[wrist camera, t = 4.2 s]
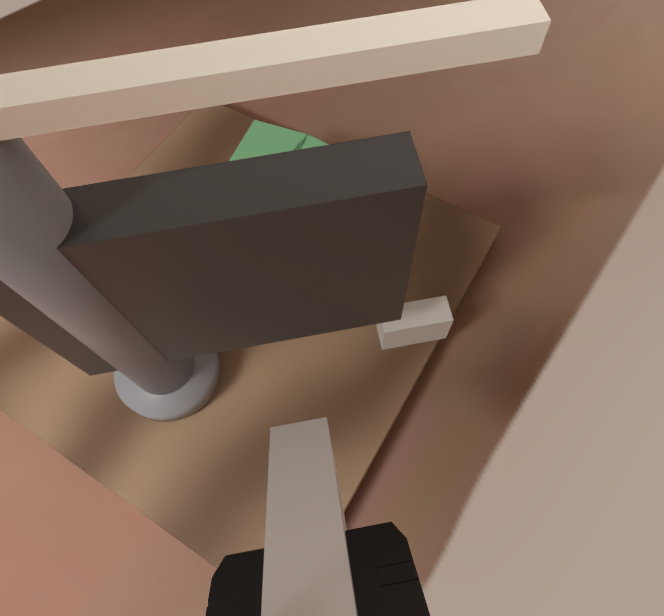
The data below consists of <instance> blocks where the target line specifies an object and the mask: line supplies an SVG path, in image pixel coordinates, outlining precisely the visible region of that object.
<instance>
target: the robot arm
mask: <svg viewBox="0 0 664 616" xmlns="http://www.w3.org/2000/svg"><path fill="white" fill-rule="evenodd" d="M206 616H430V614H429V611H428V607H427V604H426V601H425V597H424V594H423V591H422V587H421V584H420V582H419V578H418V574H417V571H416V568H415V564H414V562H413V558H412V555H411V551H410V548H409V545H408V542H407V538H406V537H405V536H404V535H403V534H402V533H401V532H400V531H399V530H398V529H397V527H396V526H395V525H394V524H393V523H392V522H387V523H382V524H377V525H372V526H367V527H361V528H356V529H351V530H347V529H346V522H345V516H344V510H343V503H342V498H341V492H340V487H339V481H338V476H337V471H336V465H335V460H334V454H333V449H332V443H331V438H330V433H329V427H328V422H327V417H324V418H319V419H314V420H308V421H303V422H297V423H292V424H287V425H281V426H276V427H270V445H269V465H268V486H267V506H266V526H265V546H264V548H261V549H256V550H251V551H246V552H241V553H235V554H230V555H225V557H224V558H223V560H222V562H221V563H220V565H219V567H218V568H217V570H216V572H215V573H214V575H213V577H212V580H211V586H210V592H209V598H208V607H207V610H206Z"/></svg>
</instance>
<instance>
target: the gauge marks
mask: <svg viewBox="0 0 664 616" xmlns="http://www.w3.org/2000/svg"><path fill="white" fill-rule="evenodd" d="M323 145H329V144H327V143H325V142H323V141H321V140H319V139H317V138H315V137H313V136H311V135H309V134H305V133H301V132H298V131H294V130H290V129H287V128H283V127H279V126H276V125H272V124H268V123H265V122H261V121H257V120H254V121H253V123H252V124H251V126H250V127H249V129H248V131H247V132H246V134H245V136H244V137H243V139H242V140H241V142H240V144H239V145H238V147H237V149H236V150H235V152H234V153H233V155H232V157H231V158H230V160H229V161H233V160H239V159H245V158H251V157H257V156H263V155H269V154H275V153H281V152H287V151H293V150H299V149H305V148H311V147H317V146H323ZM453 321H454V320H453V317H452V313H451V310H450V307H449V304H448V301H447V297H446V296H440V297H435V298H429V299H423V300H418V301H412V302H407V303H404V307H403V312H402V317H401V320H395V321H390V322H384V323H379V324H377V325H376V327H377V331H378V335H379V339H380V343H381V348H382V350H384V349H389V348H395V347H400V346H406V345H411V344H417V343H422V342H428V341H433V340H439V339H444V338H446V337H447V335H448V332H449V330H450V328H451V325H452V323H453Z"/></svg>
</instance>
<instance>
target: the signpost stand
mask: <svg viewBox="0 0 664 616" xmlns="http://www.w3.org/2000/svg"><path fill="white" fill-rule="evenodd" d="M550 22H551V19H550V18H549V16H548V14H547V12H546V11H545V9H544V7H543V5H542V4H541V2H540V0H473V1H467V2H460V3H454V4H447V5H441V6H435V7H428V8H422V9H415V10H409V11H403V12H396V13H390V14H383V15H377V16H371V17H364V18H358V19H351V20H345V21H339V22H332V23H326V24H319V25H313V26H307V27H300V28H294V29H288V30H281V31H275V32H268V33H262V34H256V35H249V36H243V37H236V38H230V39H224V40H217V41H211V42H204V43H198V44H192V45H185V46H179V47H172V48H166V49H160V50H153V51H147V52H140V53H134V54H128V55H121V56H115V57H108V58H102V59H96V60H89V61H83V62H76V63H70V64H64V65H57V66H51V67H44V68H38V69H32V70H25V71H19V72H12V73H6V74H0V316H1V317H3V318H4V319H6V320H7V321H9V322H10V323H12V324H13V325H15V326H16V327H18V328H19V329H21V330H22V331H24V332H25V333H27V334H28V335H30V336H31V337H33V338H34V339H36V340H37V341H39V342H40V343H42V344H43V345H45V346H46V347H48V348H49V349H51V350H52V351H54V352H55V353H57V354H58V355H60V356H61V357H63V358H64V359H66V360H67V361H69V362H70V363H72V364H73V365H75V366H76V367H78V368H79V369H81V370H82V371H84V372H85V373H87V374H88V375H90V376H92V375H97V374H103V373H108V372H114V384H115V388H116V391H117V394H118V395H119V397H120V399H121V400H122V401H123V403H124V404H125V405H127V406H128V407H129V408H130V409H132V410H133V411H135V412H136V413H138V414H139V415H141V416H143V417H145V418H147V419H149V420H153V421H158V422H172V421H177V420H181V419H184V418H186V417H188V416H190V415H192V414H194V413H195V412H197V411H198V410H200V409H201V408H202V407H203V406H204V405H205V404H206V403H207V402H208V401H209V399H210V398H211V397H212V395H213V394H214V392H215V390H216V388H217V385H218V383H219V379H220V373H221V363H220V358H219V354H218V353H219V352H224V351H230V350H235V349H241V348H246V347H252V346H257V345H263V344H268V343H274V342H279V341H285V340H290V339H296V338H302V337H307V336H313V335H318V334H324V333H329V332H335V331H340V330H346V329H351V328H357V327H362V326H368V325H373V324H379V323H384V322H390V321H395V320H401V317H402V312H403V307H404V302H405V296H406V291H407V286H408V281H409V276H410V271H411V266H412V261H413V256H414V251H415V246H416V240H417V235H418V230H419V225H420V220H421V215H422V210H423V205H424V200H425V195H426V190H427V182H426V179H425V176H424V173H423V170H422V167H421V164H420V161H419V158H418V155H417V152H416V149H415V146H414V143H413V140H412V137H411V134H410V131H408V132H402V133H396V134H390V135H384V136H378V137H372V138H366V139H360V140H354V141H348V142H342V143H336V144H329V145H323V146H317V147H311V148H305V149H299V150H293V151H287V152H281V153H275V154H269V155H263V156H257V157H251V158H245V159H239V160H233V161H227V162H221V163H215V164H209V165H203V166H197V167H191V168H185V169H179V170H173V171H167V172H161V173H155V174H149V175H143V176H137V177H131V178H125V179H119V180H113V181H107V182H101V183H95V184H89V185H83V186H76V187H70V188H64V189H62V188H61V187H60V186H59V185H58V183H57V182H56V181H55V180H54V178H53V177H52V176H51V175H50V174H49V172H48V171H47V170H46V169H45V167H44V166H43V165H42V164H41V162H40V161H39V160H38V159H37V157H36V156H35V155H34V154H33V152H32V151H31V150H30V149H29V148H28V146H27V145H26V144H25V143H24V141H23V140H22V139H21V137H27V136H33V135H39V134H45V133H52V132H58V131H64V130H70V129H76V128H83V127H89V126H95V125H101V124H107V123H114V122H120V121H126V120H132V119H138V118H145V117H151V116H157V115H163V114H169V113H175V112H182V111H188V110H194V109H200V108H206V107H213V106H219V105H225V104H231V103H237V102H244V101H250V100H256V99H262V98H268V97H275V96H281V95H287V94H293V93H299V92H306V91H312V90H318V89H324V88H330V87H337V86H343V85H349V84H355V83H361V82H367V81H374V80H380V79H386V78H392V77H398V76H405V75H411V74H417V73H423V72H429V71H436V70H442V69H448V68H454V67H460V66H467V65H473V64H479V63H485V62H491V61H498V60H504V59H510V58H516V57H522V56H528V55H535V54H539V52H540V50H541V47H542V44H543V41H544V39H545V36H546V33H547V31H548V28H549V25H550Z"/></svg>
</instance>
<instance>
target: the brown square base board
mask: <svg viewBox="0 0 664 616" xmlns="http://www.w3.org/2000/svg"><path fill="white" fill-rule="evenodd" d="M254 120H256V119H254V118H252V117H249V116H247V115H245V114H242V113H240V112H238V111H235V110H233V109H231V108H229V107H226V106H224V105H219V106H213V107H206V108H200V109H194V110H193V111H192V112H191V113H190V114H189V115H188V116H187V117H186V118H185V119H184V120H183V121H182V122H181V123H180V125H179V126H178V127H177V128H176V129H175V130H174V131H173V132H172V133H171V134H170V135H169V136H168V137H167V138H166V139H165V140H164V141H163V142H162V143H161V144H160V145H159V147H158V148H157V149H156V150H155V151H154V152H153V153H152V154H151V155H150V156H149V157H148V158H147V159H146V160H145V161H144V162H143V163H142V164H141V165H140V166H139V168H138V169H137V170H136V171H135V172H134V173H133V174H132V175H131V176H130V177H129V178H131V177H137V176H143V175H149V174H155V173H161V172H167V171H173V170H179V169H185V168H191V167H197V166H203V165H209V164H215V163H221V162H227V161H229V160H230V158H231V157H232V155H233V153H234V152H235V150H236V149H237V147H238V145H239V144H240V142H241V140H242V139H243V137H244V136H245V134H246V132H247V131H248V129H249V127H250V126H251V124H252V123H253V121H254ZM257 121H258V120H257ZM500 228H501V226H499V225H497V224H495V223H492V222H490V221H488V220H485V219H483V218H481V217H479V216H476V215H474V214H472V213H469V212H467V211H465V210H463V209H460V208H458V207H456V206H453V205H451V204H449V203H446V202H444V201H442V200H440V199H437V198H435V197H433V196H430V195H428V194H426V195H425V200H424V205H423V210H422V215H421V220H420V225H419V230H418V235H417V240H416V246H415V251H414V256H413V261H412V266H411V271H410V276H409V281H408V286H407V291H406V296H405V302H404V303H407V302H412V301H418V300H423V299H429V298H435V297H440V296H446V297H447V301H448V304H449V307H450V310H451V313H452V317H453V315H454V313H455V311H456V310H457V308H458V306H459V304H460V302H461V301H462V299H463V297H464V295H465V293H466V291H467V290H468V288H469V286H470V284H471V282H472V281H473V279H474V277H475V275H476V273H477V272H478V270H479V268H480V266H481V264H482V262H483V261H484V259H485V257H486V255H487V253H488V252H489V250H490V248H491V246H492V244H493V243H494V241H495V239H496V237H497V234H498V232H499V230H500ZM376 325H377V324H373V325H368V326H362V327H357V328H351V329H346V330H340V331H335V332H329V333H324V334H318V335H313V336H307V337H302V338H296V339H290V340H285V341H279V342H274V343H268V344H263V345H257V346H252V347H246V348H241V349H235V350H230V351H224V352H219V353H218V354H219V358H220V363H221V373H220V379H219V383H218V385H217V388H216V390H215V392H214V394H213V395H212V397H211V398H210V399H209V401H208V402H207V403H206V404H205V405H204V406H203V407H202V408H201V409H200V410H198V411H197V412H195V413H194V414H192V415H190V416H188V417H186V418H184V419H181V420H177V421H172V422H158V421H153V420H149V419H147V418H145V417H143V416H141V415H139V414H138V413H136V412H135V411H133V410H132V409H130V408H129V407H128V406H127V405H125V404H124V403H123V401H122V400H121V399H120V397H119V395H118V394H117V391H116V388H115V384H114V372H108V373H103V374H97V375H92V376H90V375H88V374H87V373H85V372H84V371H82V370H81V369H79V368H78V367H76V366H75V365H73V364H72V363H70V362H69V361H67V360H66V359H64V358H63V357H61V356H60V355H58V354H57V353H55V352H54V351H52V350H51V349H49V348H48V347H46V346H45V345H43V344H42V343H40V342H39V341H37V340H36V339H34V338H33V337H31V336H30V335H28V334H27V333H25V332H24V331H22V330H21V329H19V328H18V327H16V326H15V325H13V324H12V323H10V322H9V321H7V320H6V319H4V318H3V317H1V316H0V410H1V411H3V412H4V413H5V414H7V415H8V416H9V417H11V418H12V419H14V420H15V421H16V422H18V423H19V424H20V425H22V426H23V427H24V428H26V429H27V430H29V431H30V432H31V433H33V434H34V435H35V436H37V437H38V438H40V439H41V440H42V441H44V442H45V443H46V444H48V445H49V446H51V447H52V448H53V449H55V450H56V451H57V452H59V453H60V454H61V455H63V456H64V457H66V458H67V459H68V460H70V461H71V462H72V463H74V464H75V465H77V466H78V467H79V468H81V469H82V470H83V471H85V472H86V473H87V474H89V475H90V476H92V477H93V478H94V479H96V480H97V481H98V482H100V483H101V484H103V485H104V486H105V487H107V488H108V489H109V490H111V491H112V492H114V493H115V494H116V495H118V496H119V497H120V498H122V499H123V500H124V501H126V502H127V503H129V504H130V505H131V506H133V507H134V508H135V509H137V510H138V511H140V512H141V513H142V514H144V515H145V516H146V517H148V518H149V519H150V520H152V521H153V522H155V523H156V524H157V525H159V526H160V527H161V528H163V529H164V530H166V531H167V532H168V533H170V534H171V535H172V536H174V537H175V538H177V539H178V540H179V541H181V542H182V543H183V544H185V545H186V546H187V547H189V548H190V549H192V550H193V551H194V552H196V553H197V554H198V555H200V556H201V557H203V558H204V559H205V560H207V561H208V562H209V563H211V564H212V565H213V566H215V567H216V568H218V567H219V565H220V563H221V562H222V560H223V558H224V557H225V555H230V554H235V553H241V552H246V551H251V550H256V549H261V548H264V546H265V526H266V506H267V486H268V465H269V445H270V427H276V426H281V425H287V424H292V423H297V422H303V421H308V420H314V419H319V418H324V417H327V422H328V427H329V433H330V438H331V443H332V449H333V454H334V460H335V465H336V471H337V476H338V481H339V487H340V492H341V498H342V503H343V510H344V513H345V511H346V509H347V507H348V506H349V504H350V502H351V500H352V498H353V496H354V495H355V493H356V491H357V489H358V487H359V486H360V484H361V482H362V480H363V478H364V477H365V475H366V473H367V471H368V469H369V467H370V466H371V464H372V462H373V460H374V458H375V457H376V455H377V453H378V451H379V449H380V447H381V446H382V444H383V442H384V440H385V438H386V437H387V435H388V433H389V431H390V429H391V428H392V426H393V424H394V422H395V420H396V418H397V417H398V415H399V413H400V411H401V409H402V408H403V406H404V404H405V402H406V400H407V399H408V397H409V395H410V393H411V391H412V389H413V388H414V386H415V384H416V382H417V380H418V379H419V377H420V375H421V373H422V371H423V369H424V368H425V366H426V364H427V362H428V360H429V359H430V357H431V355H432V353H433V351H434V350H435V348H436V346H437V344H438V342H439V340H440V339H439V340H433V341H428V342H422V343H417V344H411V345H406V346H400V347H395V348H389V349H384V350H382V348H381V343H380V339H379V335H378V331H377V327H376Z"/></svg>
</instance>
